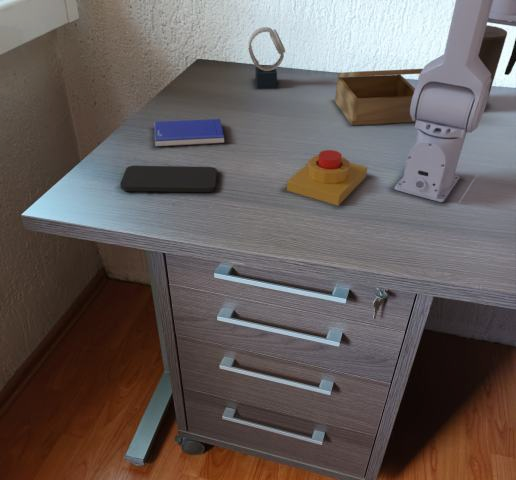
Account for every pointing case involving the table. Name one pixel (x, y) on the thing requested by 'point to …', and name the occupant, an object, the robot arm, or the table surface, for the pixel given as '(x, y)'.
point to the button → (329, 159)
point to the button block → (327, 181)
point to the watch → (267, 73)
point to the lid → (380, 73)
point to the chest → (375, 99)
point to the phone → (169, 179)
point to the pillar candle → (492, 49)
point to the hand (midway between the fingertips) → (486, 69)
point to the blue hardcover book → (188, 132)
